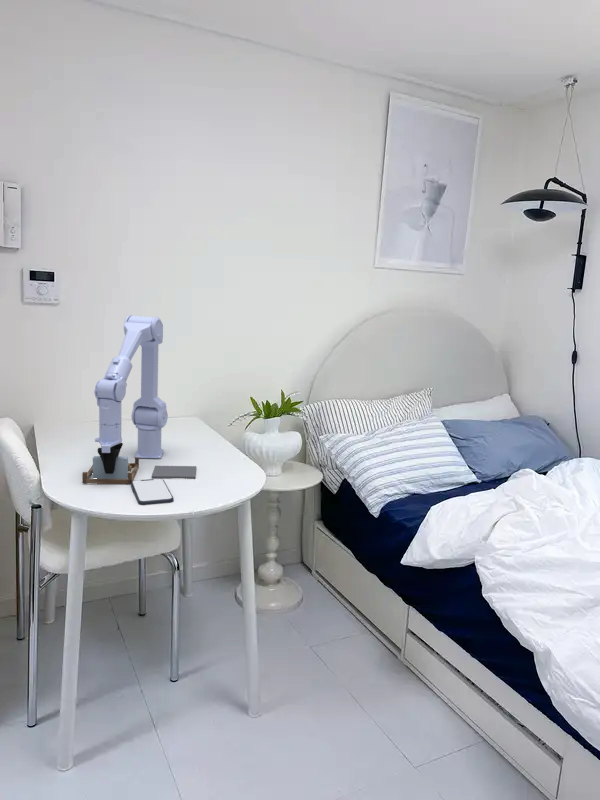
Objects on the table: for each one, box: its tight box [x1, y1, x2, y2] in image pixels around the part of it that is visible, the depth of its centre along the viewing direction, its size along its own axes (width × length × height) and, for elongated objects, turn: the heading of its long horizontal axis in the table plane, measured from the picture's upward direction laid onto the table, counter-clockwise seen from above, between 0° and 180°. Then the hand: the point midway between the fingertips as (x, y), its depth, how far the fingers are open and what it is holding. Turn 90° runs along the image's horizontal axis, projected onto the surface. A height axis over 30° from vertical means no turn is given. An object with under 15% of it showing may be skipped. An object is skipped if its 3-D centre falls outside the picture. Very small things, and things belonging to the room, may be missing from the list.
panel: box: [92, 455, 129, 479], centre depth 161 cm, size 2×9×6 cm, turn 98°
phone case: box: [130, 478, 174, 506], centre depth 152 cm, size 9×2×16 cm
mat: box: [151, 465, 197, 480], centre depth 169 cm, size 10×12×1 cm
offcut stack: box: [128, 462, 133, 472], centre depth 169 cm, size 3×9×2 cm, turn 98°
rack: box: [81, 456, 140, 485], centre depth 164 cm, size 16×13×3 cm
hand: (110, 471), depth 162 cm, fingers open, 3 cm apart
